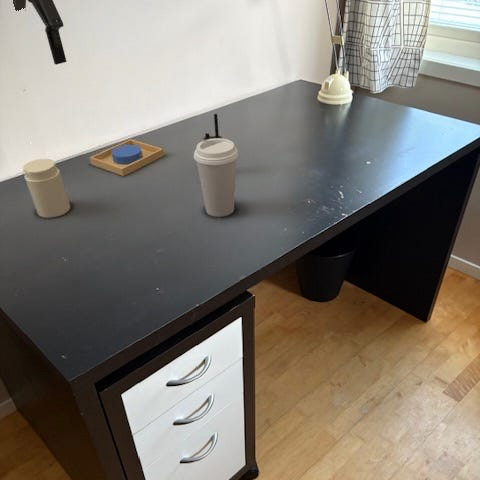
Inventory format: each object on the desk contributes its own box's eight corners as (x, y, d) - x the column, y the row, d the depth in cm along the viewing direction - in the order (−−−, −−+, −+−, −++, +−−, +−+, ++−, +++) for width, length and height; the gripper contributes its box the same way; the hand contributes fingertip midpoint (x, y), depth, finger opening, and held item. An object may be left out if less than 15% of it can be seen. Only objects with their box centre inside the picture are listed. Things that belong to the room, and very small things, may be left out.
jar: (30, 211, 112) (14, 167, 105) (57, 198, 117) (43, 155, 109) (50, 221, 109) (34, 175, 101) (76, 207, 113) (63, 162, 106)
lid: (148, 157, 132) (147, 149, 130) (125, 167, 127) (123, 159, 126) (130, 150, 136) (129, 142, 135) (107, 159, 132) (105, 151, 130)
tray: (91, 164, 131) (89, 157, 130) (132, 145, 140) (130, 139, 138) (123, 176, 125) (121, 168, 123) (164, 155, 133) (163, 148, 132)
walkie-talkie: (206, 176, 123) (200, 116, 113) (206, 170, 125) (201, 112, 115) (224, 176, 122) (221, 116, 112) (225, 170, 125) (221, 111, 115)
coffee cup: (233, 196, 114) (230, 134, 104) (246, 215, 107) (244, 150, 97) (194, 204, 112) (187, 140, 102) (205, 223, 105) (199, 158, 95)
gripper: (61, -57, 93) (88, 63, 108) (1, -59, 106) (32, 48, 121) (26, -53, 89) (59, 70, 104) (-32, -56, 102) (5, 54, 117)
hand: (45, 58), depth 112 cm, fingers open, 13 cm apart
